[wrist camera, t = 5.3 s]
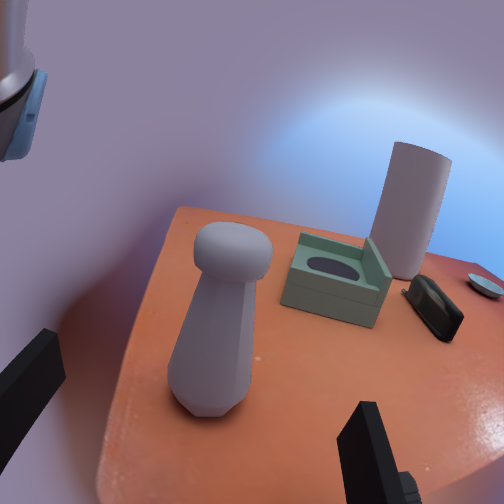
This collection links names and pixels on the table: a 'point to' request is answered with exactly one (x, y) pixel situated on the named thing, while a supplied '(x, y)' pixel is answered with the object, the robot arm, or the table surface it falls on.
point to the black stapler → (434, 307)
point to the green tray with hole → (337, 280)
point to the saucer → (486, 286)
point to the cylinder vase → (409, 207)
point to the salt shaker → (220, 320)
